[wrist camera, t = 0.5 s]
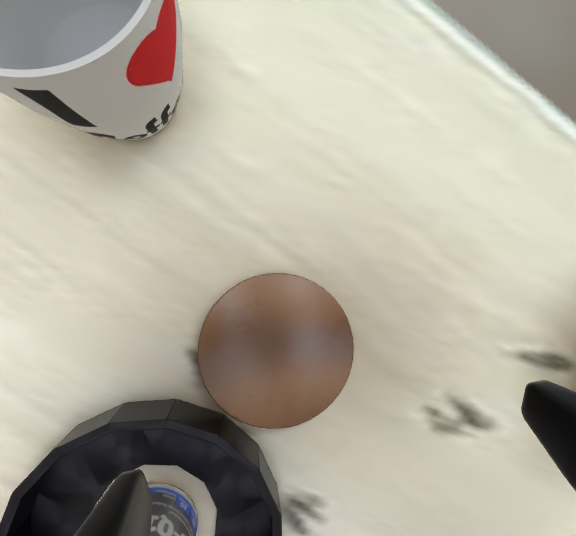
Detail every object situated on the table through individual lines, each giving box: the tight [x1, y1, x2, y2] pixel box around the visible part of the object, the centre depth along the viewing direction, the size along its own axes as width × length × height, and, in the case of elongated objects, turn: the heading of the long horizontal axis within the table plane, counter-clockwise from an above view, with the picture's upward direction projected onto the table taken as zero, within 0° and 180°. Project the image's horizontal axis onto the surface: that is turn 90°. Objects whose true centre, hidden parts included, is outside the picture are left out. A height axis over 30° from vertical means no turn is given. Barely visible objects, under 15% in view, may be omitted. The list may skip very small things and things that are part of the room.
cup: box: [0, 0, 183, 140], centre depth 15 cm, size 8×8×10 cm
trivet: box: [198, 273, 353, 429], centre depth 21 cm, size 9×9×1 cm
